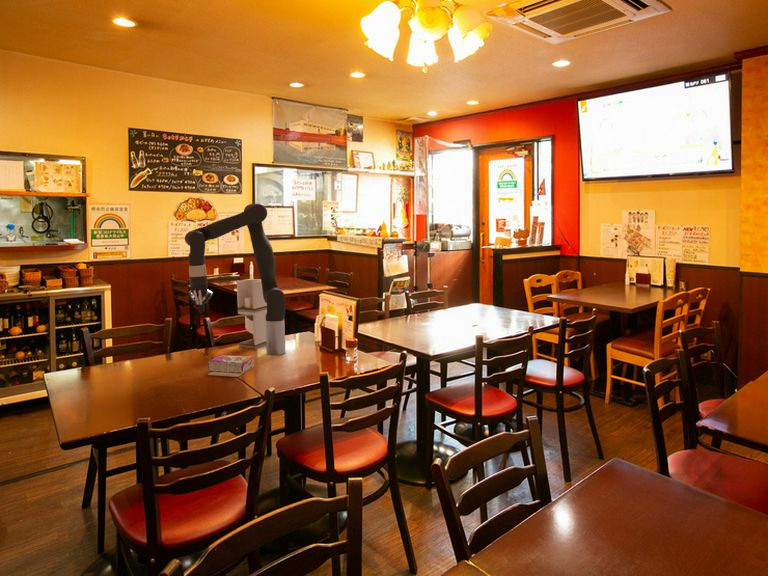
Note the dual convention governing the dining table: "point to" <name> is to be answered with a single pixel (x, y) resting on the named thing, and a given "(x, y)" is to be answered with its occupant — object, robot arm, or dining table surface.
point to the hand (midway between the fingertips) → (201, 312)
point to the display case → (252, 311)
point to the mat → (227, 373)
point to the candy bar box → (231, 364)
